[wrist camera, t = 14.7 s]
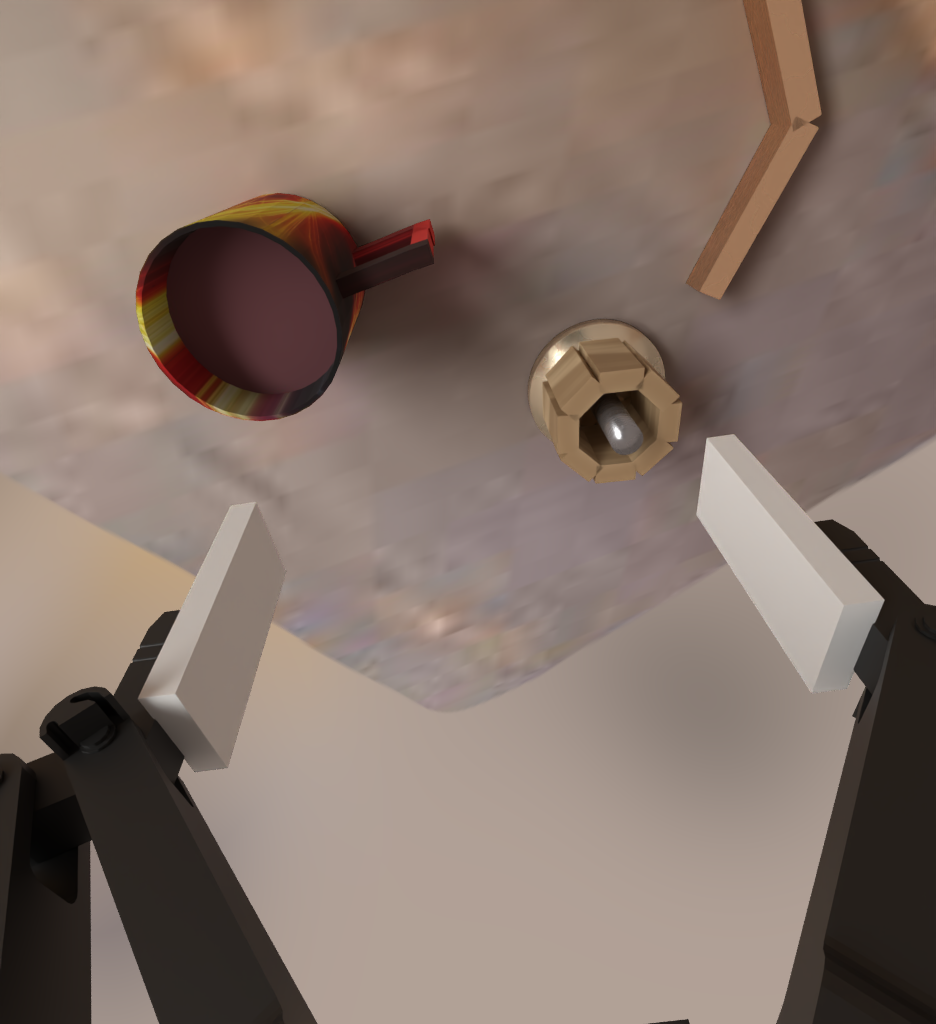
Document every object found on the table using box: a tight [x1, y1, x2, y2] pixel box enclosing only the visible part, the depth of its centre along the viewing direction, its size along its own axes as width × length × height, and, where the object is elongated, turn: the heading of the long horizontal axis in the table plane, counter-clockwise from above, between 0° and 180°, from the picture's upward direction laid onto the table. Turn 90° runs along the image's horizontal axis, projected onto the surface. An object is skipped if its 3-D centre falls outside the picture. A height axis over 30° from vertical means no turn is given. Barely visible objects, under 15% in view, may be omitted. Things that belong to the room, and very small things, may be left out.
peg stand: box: [528, 319, 665, 455], centre depth 39 cm, size 10×10×9 cm
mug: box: [136, 193, 435, 421], centre depth 32 cm, size 10×14×12 cm
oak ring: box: [542, 338, 682, 483], centre depth 40 cm, size 8×8×6 cm
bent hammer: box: [686, 0, 822, 300], centre depth 31 cm, size 19×6×8 cm, turn 5°
